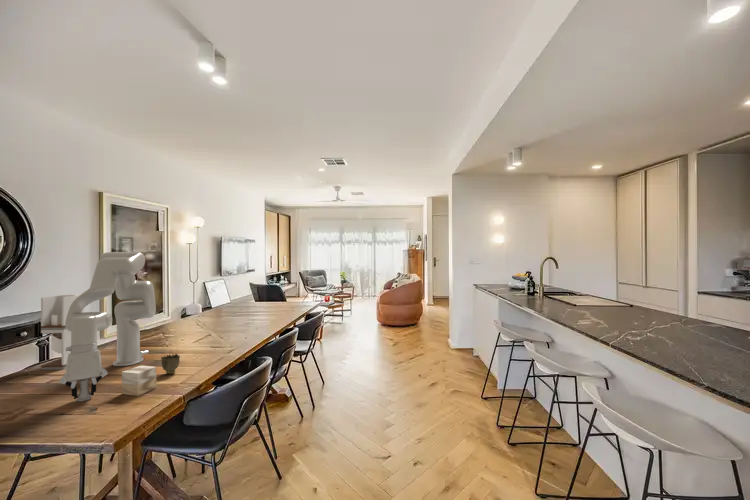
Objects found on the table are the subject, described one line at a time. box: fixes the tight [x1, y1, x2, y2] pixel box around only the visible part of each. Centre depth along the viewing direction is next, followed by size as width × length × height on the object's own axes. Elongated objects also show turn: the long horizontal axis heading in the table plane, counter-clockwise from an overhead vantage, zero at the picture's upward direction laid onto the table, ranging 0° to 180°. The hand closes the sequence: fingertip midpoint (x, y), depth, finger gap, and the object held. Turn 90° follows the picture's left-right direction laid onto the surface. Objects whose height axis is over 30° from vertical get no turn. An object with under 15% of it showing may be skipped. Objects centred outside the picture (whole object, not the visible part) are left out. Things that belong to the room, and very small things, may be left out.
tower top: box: [121, 365, 157, 385], centre depth 136 cm, size 8×8×4 cm
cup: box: [161, 353, 181, 375], centre depth 156 cm, size 8×7×8 cm
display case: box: [40, 294, 84, 371], centre depth 168 cm, size 11×11×35 cm
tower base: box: [122, 377, 157, 397], centre depth 136 cm, size 8×8×4 cm
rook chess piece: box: [76, 378, 93, 403], centre depth 128 cm, size 4×4×8 cm
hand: (84, 395), depth 128 cm, fingers closed on rook chess piece, 4 cm apart
